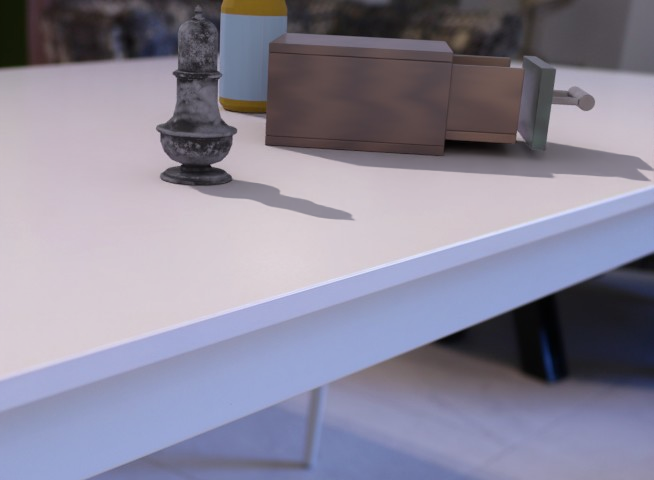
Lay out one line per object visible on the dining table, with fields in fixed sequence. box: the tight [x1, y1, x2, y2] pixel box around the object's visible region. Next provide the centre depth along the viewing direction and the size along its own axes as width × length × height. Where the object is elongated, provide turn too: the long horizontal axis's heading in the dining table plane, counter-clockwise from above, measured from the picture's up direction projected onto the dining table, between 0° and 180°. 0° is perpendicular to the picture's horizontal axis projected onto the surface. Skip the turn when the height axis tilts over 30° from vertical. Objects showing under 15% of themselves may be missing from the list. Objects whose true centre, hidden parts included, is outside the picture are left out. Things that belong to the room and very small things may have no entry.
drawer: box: [445, 54, 596, 151], centre depth 96 cm, size 19×13×7 cm
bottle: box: [218, 0, 288, 114], centre depth 112 cm, size 7×7×15 cm
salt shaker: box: [155, 4, 238, 186], centre depth 75 cm, size 6×6×12 cm
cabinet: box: [264, 32, 455, 157], centre depth 97 cm, size 16×15×9 cm
